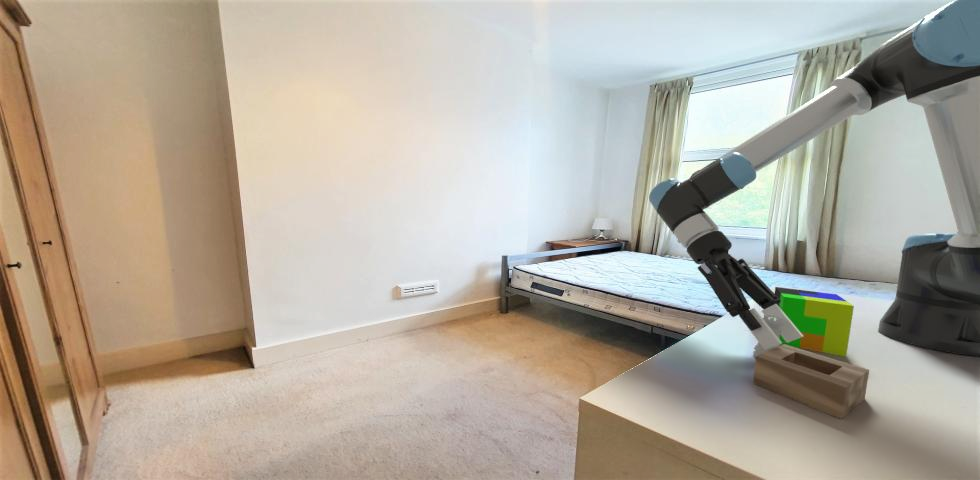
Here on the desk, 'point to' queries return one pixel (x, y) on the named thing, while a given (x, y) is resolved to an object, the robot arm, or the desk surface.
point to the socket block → (812, 379)
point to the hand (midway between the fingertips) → (784, 342)
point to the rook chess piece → (775, 327)
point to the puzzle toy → (817, 319)
